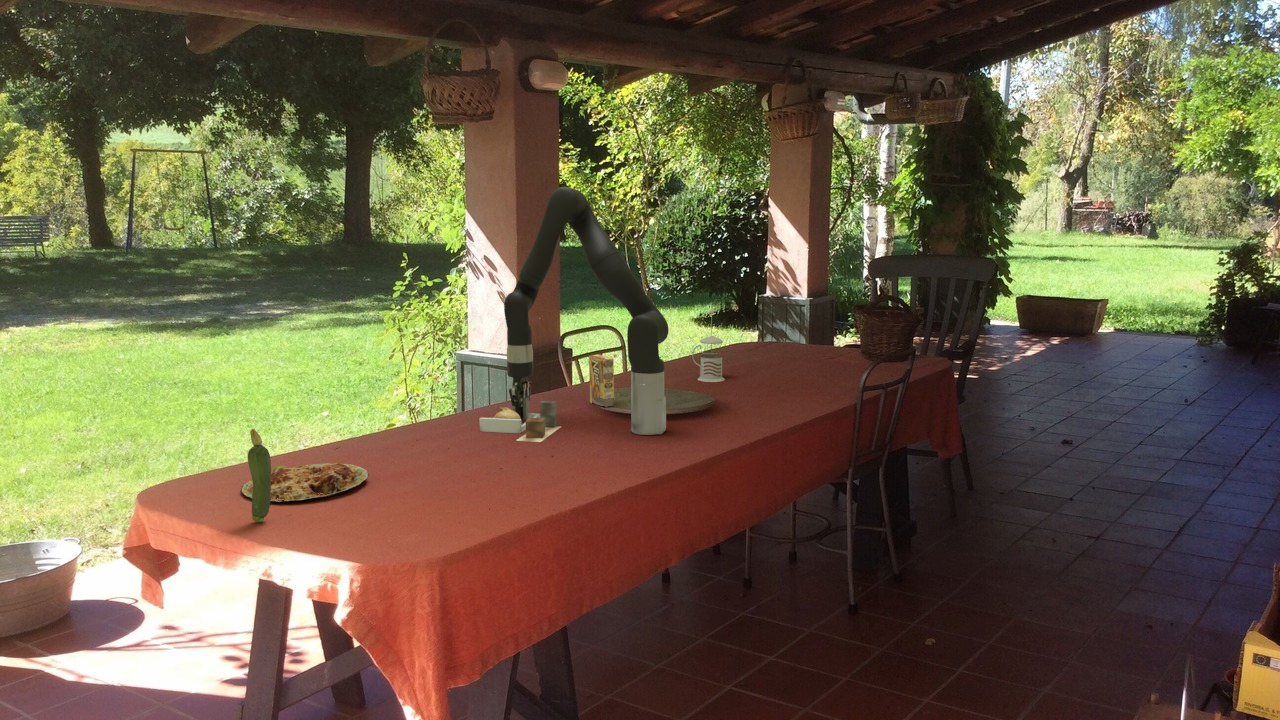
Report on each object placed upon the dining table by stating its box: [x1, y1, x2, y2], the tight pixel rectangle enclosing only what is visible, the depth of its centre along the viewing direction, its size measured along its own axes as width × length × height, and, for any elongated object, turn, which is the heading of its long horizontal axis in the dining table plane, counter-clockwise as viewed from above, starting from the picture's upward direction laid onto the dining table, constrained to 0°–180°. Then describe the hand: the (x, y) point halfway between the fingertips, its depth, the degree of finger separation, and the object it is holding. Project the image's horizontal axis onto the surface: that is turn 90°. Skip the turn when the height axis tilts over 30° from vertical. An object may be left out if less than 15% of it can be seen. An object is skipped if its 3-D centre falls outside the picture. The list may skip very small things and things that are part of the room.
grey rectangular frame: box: [478, 397, 541, 434], centre depth 288 cm, size 12×19×7 cm, turn 167°
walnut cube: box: [525, 418, 545, 438], centre depth 275 cm, size 4×4×4 cm
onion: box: [493, 406, 523, 424], centre depth 284 cm, size 8×8×7 cm
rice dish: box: [240, 462, 370, 503], centre depth 234 cm, size 28×28×5 cm
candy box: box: [588, 354, 615, 404], centre depth 319 cm, size 9×4×15 cm, turn 33°
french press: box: [691, 309, 726, 383], centre depth 360 cm, size 10×12×25 cm
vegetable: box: [247, 428, 272, 523], centre depth 207 cm, size 4×4×20 cm
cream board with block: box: [515, 400, 562, 443], centre depth 278 cm, size 7×19×8 cm, turn 167°
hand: (521, 418), depth 297 cm, fingers closed on grey rectangular frame, 2 cm apart
